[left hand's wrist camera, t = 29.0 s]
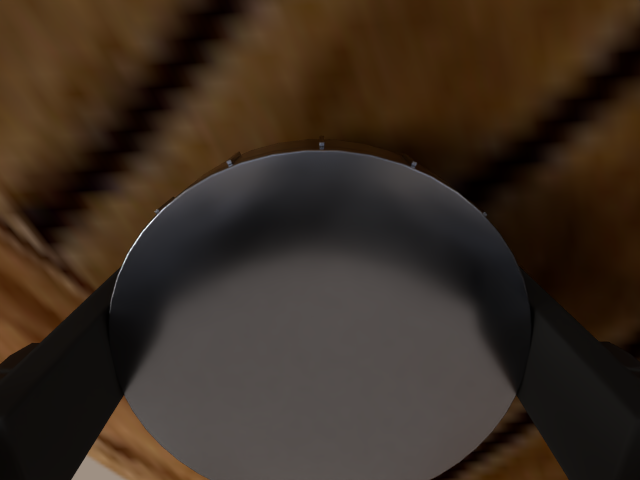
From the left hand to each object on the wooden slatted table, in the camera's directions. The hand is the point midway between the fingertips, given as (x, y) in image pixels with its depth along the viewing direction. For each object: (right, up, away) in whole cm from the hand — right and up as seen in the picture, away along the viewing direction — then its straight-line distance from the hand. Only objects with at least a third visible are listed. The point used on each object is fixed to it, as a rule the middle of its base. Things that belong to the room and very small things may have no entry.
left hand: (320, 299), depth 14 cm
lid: (0, -1, -3) cm, 3 cm away
